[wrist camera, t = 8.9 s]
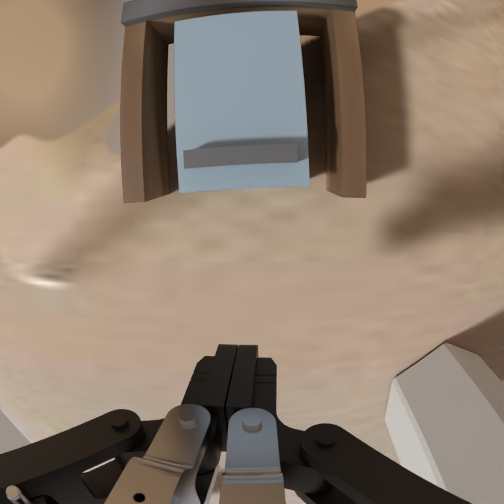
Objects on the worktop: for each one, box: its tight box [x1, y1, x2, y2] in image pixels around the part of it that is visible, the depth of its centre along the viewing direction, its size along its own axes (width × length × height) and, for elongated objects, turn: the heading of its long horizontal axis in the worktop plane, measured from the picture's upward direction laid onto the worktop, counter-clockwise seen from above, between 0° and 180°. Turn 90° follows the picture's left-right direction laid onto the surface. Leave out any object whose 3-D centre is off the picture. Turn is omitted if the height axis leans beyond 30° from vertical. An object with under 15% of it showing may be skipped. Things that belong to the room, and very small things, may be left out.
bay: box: [120, 0, 367, 203], centre depth 14 cm, size 12×11×5 cm
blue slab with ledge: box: [174, 11, 310, 193], centre depth 14 cm, size 6×9×6 cm, turn 3°
